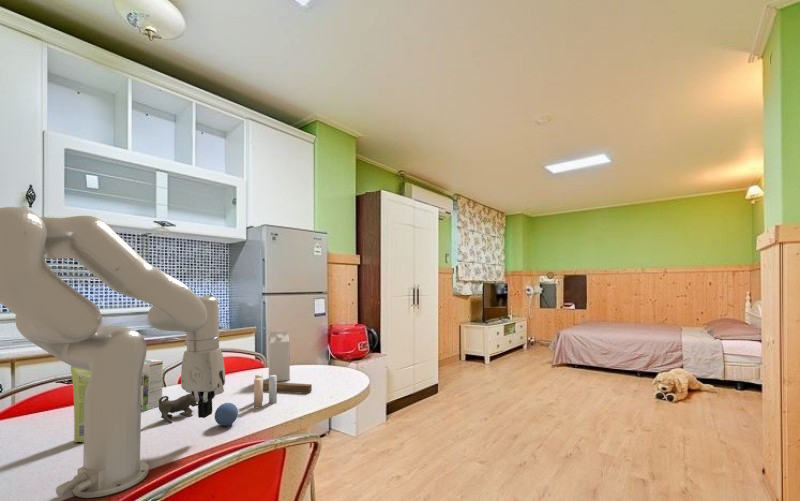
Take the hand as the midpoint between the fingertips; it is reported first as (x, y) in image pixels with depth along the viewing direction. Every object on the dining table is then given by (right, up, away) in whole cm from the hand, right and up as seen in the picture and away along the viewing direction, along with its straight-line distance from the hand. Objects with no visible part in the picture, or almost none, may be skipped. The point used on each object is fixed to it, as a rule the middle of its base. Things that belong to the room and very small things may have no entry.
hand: (205, 415), depth 101 cm
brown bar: (+9, -7, +38) cm, 40 cm away
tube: (-31, -7, 0) cm, 32 cm away
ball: (+2, -3, +8) cm, 9 cm away
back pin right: (+9, -7, +26) cm, 28 cm away
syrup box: (-30, -8, +24) cm, 39 cm away
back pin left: (+4, -7, +27) cm, 28 cm away
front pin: (+5, -7, +23) cm, 24 cm away
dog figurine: (-15, -7, +15) cm, 22 cm away
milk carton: (+3, -8, +53) cm, 54 cm away
